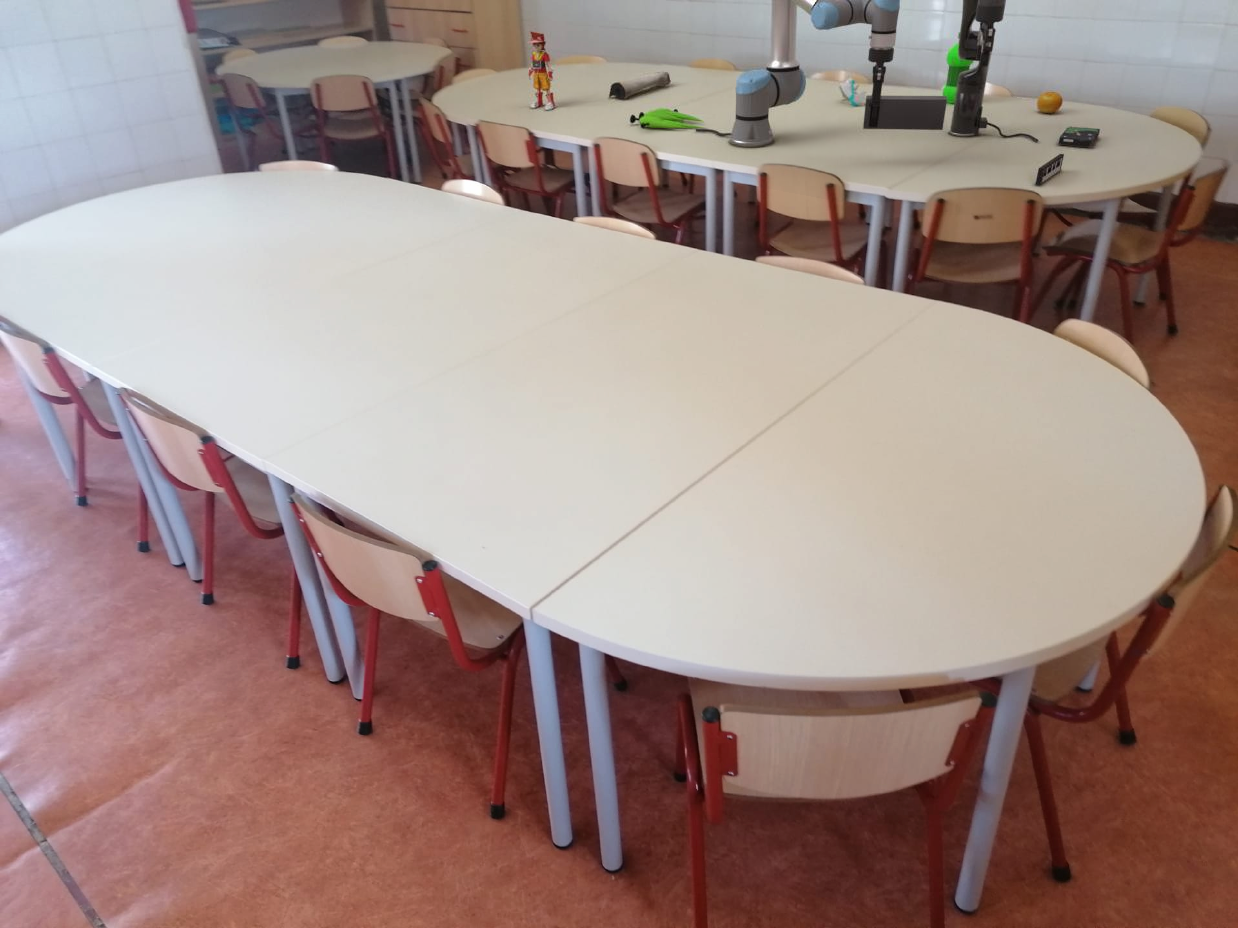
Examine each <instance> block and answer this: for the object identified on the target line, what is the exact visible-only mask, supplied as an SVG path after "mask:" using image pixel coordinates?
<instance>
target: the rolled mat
mask: <svg viewBox="0 0 1238 928" xmlns="http://www.w3.org/2000/svg"><path fill="white" fill-rule="evenodd" d="M671 83H672V81H671V77H670V74H669V72H668V71H658V72H654V73H649V74H645V75H640V76H637V77H633V78H628V79H623V80H620V81H616V82H613V83H612V84H611V85H610V89H609V95H608V97H609V98H611V97H616V99H620V100H622V101H623V100H626V99H627V98H629V97H630V96H632V95H635V94H636V93H638V92H640V91H643V90H644V89H647V88H650V87H655V86H658V87H659V86H661V87H665V86H669V85H670V84H671Z"/></svg>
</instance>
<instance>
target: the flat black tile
mask: <svg viewBox="0 0 1238 928" xmlns="http://www.w3.org/2000/svg"><path fill="white" fill-rule="evenodd" d="M1064 157H1065V153H1059V154H1058V155H1056V156H1055V157H1052V159H1051V160H1049V161H1047V162H1045V164H1042V165H1041V166H1039V167H1038V169H1037V175H1036V179H1035V186H1040V185H1042V183H1044V182H1045V181H1047V180H1048V179H1049V178H1051V177H1052V176H1054V175H1055V174H1056V173H1058V172H1060V171H1061V170H1062V165H1063V161H1064Z"/></svg>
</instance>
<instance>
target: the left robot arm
mask: <svg viewBox="0 0 1238 928" xmlns="http://www.w3.org/2000/svg"><path fill="white" fill-rule="evenodd" d="M900 5H901V0H771V28H770V30H771V31H770V32H771V33H770V60H769V61H768V62H767V63H766V69H765V68H760V69H752V70H747V71H745V72H742V73H740V74H739V75H738V76H737V78H736V86H735V120H734V123H733V126H732V130H731V132H723V133H722V132H720V131H717V130H716V129H715V130H714V129H710V128H695V132H709V133H714V134H716V135H718V136H721V137H727V136H729V143H730V144H731V145H732V146H736V147H740V148H761V147H765V146H768V145H770V144H772V143H773V138H774V135H773V130H772V128H771V125H770V121H769V115H770V114H769V112H770V109H772V108H777V107H780V106H784V105H785V106H787V105H790V104H792V103H795V102H797V101H799V100H800V98H802V96H803V95H804V93H805V90H806V87H807V86H806V85H807V77H806V75H805V72H804V70H803V69H802V68H801V67H800V65H801V64H800V62H799V61H798V60H797V58H796V50H797V21H798V19H797V17H798V7H799V8H800V9H802V10H803V11H805V12H806V13H807V14H808V15H809V16H810V20H811V23H812V26H813V27H814V28H815V29H816V30H819V31H822V30H823V31H824V30H826V31H828V30H831V29H836V28H841V27H846V26H851V25H856V24H865V25H871V27H870V28H871V30H870V35H868V38H867V39H868V40H869V47H870V48H869V49H868V55H867V56H868V58H867V61H869V62H870V63H875V64H874V66H872V92H871V96H873V97H872V103H871V105H870V104H869V107H871V110H870V119H869V127H877V125H878V116H879V108H880V98H881V96H882V89H883V83H884V82H885V75H886V72H887V66H885V64H886V63H890V62H892V61H893V60H894V54H895V48H894V47H895V45H896V40H897V39H896V38H897V27H898V20H899V13H900V8H901V7H900Z"/></svg>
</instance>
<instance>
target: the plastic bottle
mask: <svg viewBox="0 0 1238 928" xmlns="http://www.w3.org/2000/svg"><path fill="white" fill-rule="evenodd" d="M959 37H960V31H959V32H958V36H957V39H959ZM958 45H959V42H957V43H956V44H954V45H953V46H952V47H951V48H950V49H949V50H948V52H947V54H946V63H947V64H948V69H947V70H948V71H947V76H946V77H947V78H946V84H945V85H944V87H943V90H942V96H946V97H947V103H948V104H954V103H955V96H956V90H957V83H958V77H959V74H960V73H961V72H963V71H966V70H970V67H971V65H972V64H973V63H974V61H967V60H961V59H960V58H959V56H958Z"/></svg>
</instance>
